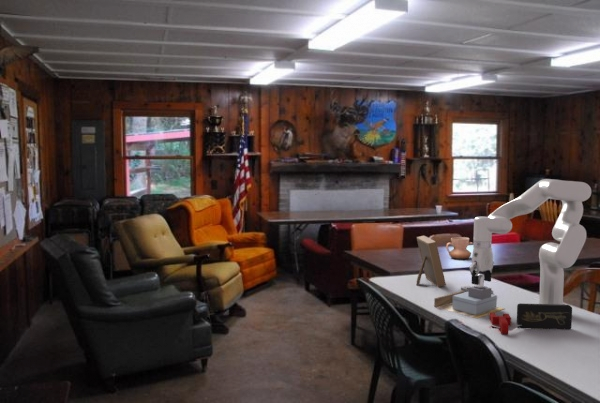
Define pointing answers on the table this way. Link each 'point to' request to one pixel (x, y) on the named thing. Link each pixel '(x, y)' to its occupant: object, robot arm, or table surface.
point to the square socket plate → (475, 301)
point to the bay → (447, 304)
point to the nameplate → (544, 316)
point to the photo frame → (430, 261)
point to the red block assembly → (501, 322)
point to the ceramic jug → (459, 248)
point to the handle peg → (481, 281)
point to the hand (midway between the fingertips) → (481, 282)
